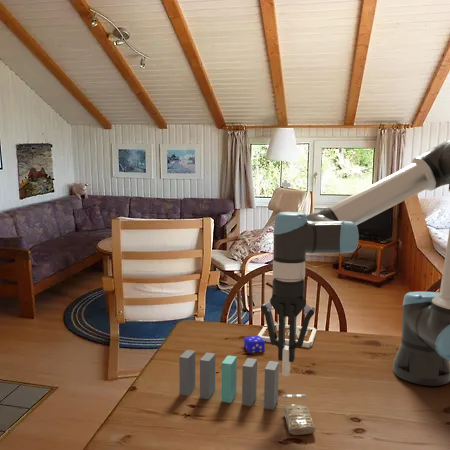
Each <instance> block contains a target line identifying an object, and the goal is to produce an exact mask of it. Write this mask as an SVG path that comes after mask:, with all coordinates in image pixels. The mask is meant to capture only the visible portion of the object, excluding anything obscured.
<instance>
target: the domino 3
mask: <svg viewBox="0 0 450 450" xmlns="http://www.w3.org/2000/svg"><path fill="white" fill-rule="evenodd" d="M237 364H238V356H235V355H230V354H229V355H227V356H226V357H225V358H224V360H223V361H222V362H221V402H223V403H228V404H229V403H230V404H232V402H233V400H234V399H235V397H236V395H237V386H238V385H237V380H238V378H237V377H238V376H237V374H238V371H237V369H238V365H237Z"/></svg>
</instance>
